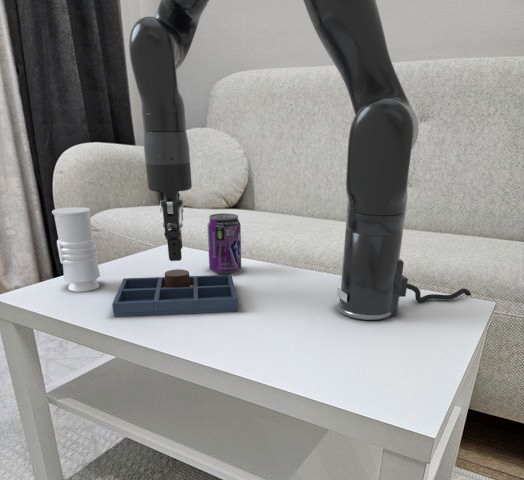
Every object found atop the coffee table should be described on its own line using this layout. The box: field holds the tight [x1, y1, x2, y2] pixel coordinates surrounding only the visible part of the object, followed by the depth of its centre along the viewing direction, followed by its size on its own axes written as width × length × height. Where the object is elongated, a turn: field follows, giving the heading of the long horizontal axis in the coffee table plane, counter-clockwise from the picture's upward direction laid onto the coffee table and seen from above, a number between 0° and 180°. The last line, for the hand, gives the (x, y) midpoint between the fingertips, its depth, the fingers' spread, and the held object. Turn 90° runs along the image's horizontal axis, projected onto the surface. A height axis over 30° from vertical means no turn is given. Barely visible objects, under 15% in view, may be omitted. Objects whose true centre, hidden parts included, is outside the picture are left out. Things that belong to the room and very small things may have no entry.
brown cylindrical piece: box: [164, 268, 190, 288], centre depth 90 cm, size 5×5×4 cm
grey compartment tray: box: [111, 274, 239, 318], centre depth 88 cm, size 21×14×2 cm
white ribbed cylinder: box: [51, 206, 101, 293], centre depth 92 cm, size 7×7×15 cm
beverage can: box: [207, 212, 242, 275], centre depth 103 cm, size 7×7×12 cm
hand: (176, 254), depth 88 cm, fingers open, 8 cm apart
